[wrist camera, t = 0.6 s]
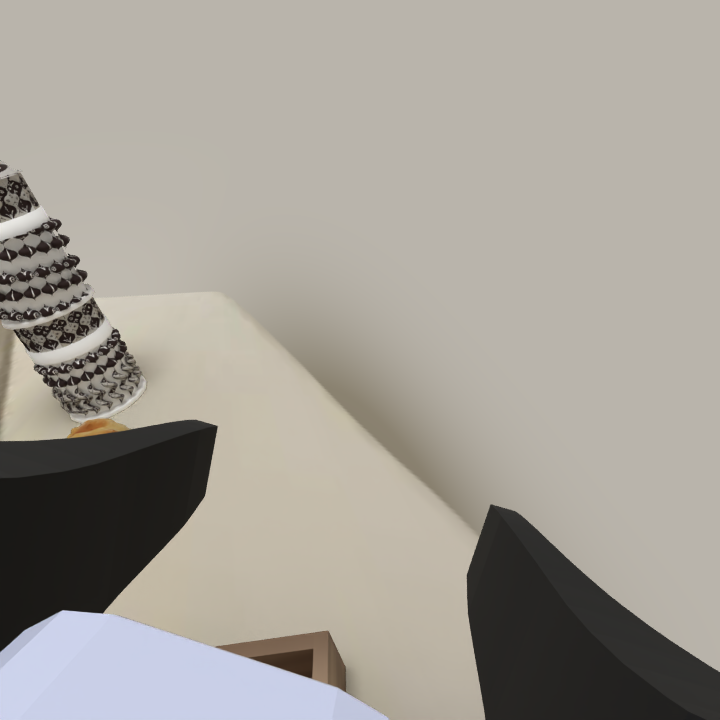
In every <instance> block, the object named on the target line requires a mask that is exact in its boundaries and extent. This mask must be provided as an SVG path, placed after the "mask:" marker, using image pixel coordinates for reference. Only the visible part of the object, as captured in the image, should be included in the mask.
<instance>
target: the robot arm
mask: <svg viewBox="0 0 720 720" xmlns="http://www.w3.org/2000/svg"><path fill="white" fill-rule="evenodd" d="M217 428H218V426H216V425H212V424H209V423H205V422H202V421H198V420H184V421H176V422H170V423H164V424H159V425H153V426H148V427H142V428H137V429H131V430H125V431H119V432H112V433H105V434H98V435H92V436H85V437H76V438H66V439H53V440H39V441H0V720H389V718H388V717H386V716H385V715H383V714H382V713H380V712H379V711H377V710H375V709H374V708H372V707H370V706H369V705H367V704H365V703H363V702H362V701H360V700H358V699H357V698H355V697H353V696H352V695H350V694H348V693H346V692H345V691H343V690H341V689H340V688H338V687H335V686H332V685H329V684H326V683H323V682H320V681H317V680H314V679H311V678H308V677H305V676H302V675H298V674H295V673H292V672H289V671H286V670H283V669H280V668H277V667H274V666H271V665H268V664H265V663H262V662H259V661H256V660H253V659H250V658H247V657H244V656H241V655H238V654H234V653H231V652H228V651H225V650H222V649H219V648H216V647H213V646H210V645H207V644H204V643H201V642H198V641H195V640H192V639H189V638H186V637H183V636H180V635H177V634H174V633H170V632H167V631H164V630H161V629H158V628H155V627H152V626H149V625H146V624H143V623H140V622H137V621H134V620H131V619H128V618H125V617H122V616H119V615H112V614H103V613H104V611H105V610H106V609H107V608H108V607H109V605H110V604H111V603H112V602H113V601H114V600H115V599H116V597H117V596H118V595H119V594H120V593H121V592H122V591H123V590H124V589H125V588H126V587H127V586H128V584H129V583H130V582H131V581H132V580H133V579H134V578H135V577H136V576H137V575H138V574H139V573H140V572H141V571H142V570H143V569H144V568H145V567H146V566H147V565H148V563H149V562H150V561H151V560H152V559H153V558H154V557H155V556H156V555H157V554H158V553H159V552H160V551H161V550H162V549H163V548H164V547H165V546H166V545H167V543H168V542H169V541H170V540H171V539H172V538H173V537H174V536H175V535H176V534H177V533H178V532H179V531H180V529H181V528H182V527H183V526H184V525H185V524H186V522H187V521H188V519H189V518H190V517H191V515H192V514H193V513H194V511H195V510H196V508H197V507H198V505H199V504H200V502H201V501H202V500H203V498H204V497H205V493H206V487H207V482H208V477H209V471H210V466H211V460H212V455H213V449H214V444H215V438H216V433H217ZM467 601H468V616H469V623H470V629H471V635H472V641H473V647H474V653H475V659H476V665H477V671H478V676H479V682H480V688H481V694H482V700H483V706H484V712H485V720H720V672H718V671H717V670H715V669H713V668H712V667H710V666H708V665H707V664H706V663H704V662H702V661H701V660H699V659H698V658H696V657H695V656H693V655H692V654H690V653H689V652H687V651H685V650H684V649H682V648H681V647H679V646H678V645H676V644H675V643H673V642H672V641H670V640H669V639H667V638H666V637H664V636H663V635H662V634H660V633H659V632H657V631H656V630H654V629H653V628H652V627H650V626H649V625H648V624H646V623H645V622H643V621H642V620H641V619H640V618H638V617H637V616H635V615H634V614H633V613H632V612H630V611H629V610H627V609H626V608H625V607H623V606H622V605H621V604H619V603H618V602H617V601H616V600H615V599H613V598H612V597H611V596H609V595H608V594H607V593H606V592H605V591H604V590H602V589H601V588H600V587H599V586H598V585H597V584H595V583H594V582H593V581H592V580H591V579H590V578H588V577H587V576H586V575H585V574H584V573H583V572H582V571H581V570H579V569H578V568H577V567H576V566H575V565H574V564H573V563H572V562H570V560H568V559H567V558H566V557H565V556H564V555H563V554H562V553H561V552H560V551H559V550H558V549H557V548H556V547H555V546H554V545H553V544H551V543H550V542H549V541H548V540H547V539H546V538H545V537H544V536H543V535H542V534H541V533H540V532H539V531H538V530H537V529H536V528H535V527H534V526H532V525H531V524H530V523H529V522H528V521H527V520H526V519H525V518H523V517H522V516H521V515H519V514H518V513H517V512H515V511H512V510H509V509H505V508H501V507H498V506H494V505H490V508H489V511H488V514H487V517H486V520H485V523H484V526H483V529H482V532H481V535H480V537H479V540H478V543H477V546H476V549H475V552H474V555H473V558H472V561H471V564H470V567H469V570H468V573H467Z"/></svg>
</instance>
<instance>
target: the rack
mask: <svg viewBox="0 0 720 720" xmlns="http://www.w3.org/2000/svg"><path fill="white" fill-rule="evenodd" d="M216 648H219V649H222V650H225V651H228V652H231V653H234V654H238V655H241V656H244V657H247V658H250V659H253V660H256V661H259V662H262V663H265V664H268V665H271V666H274V667H277V668H280V669H283V670H286V671H289V672H292V673H295V674H298V675H302V676H305V677H308V678H311V679H314V680H317V681H320V682H323V683H326V684H329V685H332V686H335V687H338V688H340V689H341V690H343V691H345V692H346V676H345V665H344V663H343V661H342V659H341V656H340V654H339V652H338V650H337V648H336V646H335V644H334V642H333V640H332V637H331V635H330V633H329V631H322V632H315V633H308V634H301V635H294V636H287V637H280V638H273V639H266V640H259V641H252V642H245V643H238V644H230V645H223V646H216Z"/></svg>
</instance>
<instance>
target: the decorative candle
mask: <svg viewBox="0 0 720 720" xmlns="http://www.w3.org/2000/svg"><path fill="white" fill-rule="evenodd" d="M20 172H22V171H19V170H14V169H12V168H10V167H9V166H7V165H6V164H5V163H3V162H2V161H1V160H0V319H1V321H2V325H3V327H4V328H7V329H12V330H14V332H15V333H16V335H17V337H18V338H19V339H20V341H21V342H22V343H23V344H24V346H25V349H26V352H27V354H28V355H29V357H30V358H31V359H32V361H33V362H34V364H35V365H34V370H35V371H37V372H38V373H39V374H41V375H43V376H44V378H43V382H44V383H46V384H47V385H48V386H49V387H53V389H52V394H53V396H54V397H55V398H56V399H58V400H59V401H61V407H62V408H63V409H64V410H66V411H67V412H69V415H70V417H71V419H72V420H73V421H75V422H78V423H84V422H85V421H87V420H92V419H98V418H110V417H112V416H114V415H116V414H117V413H119V412H121V411H123V410H125V409H127V408H128V407H129V406H130V405H132V404H133V403H134V402H136V401H137V400H138V399H139V398H140V396H141V395H142V394H143V393H144V391H145V390H146V385H147V381H146V380H145V378H144V377H143V376H142V372H141V371H139V366H136V365H135V363H136V361H135V360H133V355H131V354H129V353H128V352H126V350H127V347H126V346H125V345H126V344H125V342H124V341H121V340H120V334H119V331H118V330H117V329H114V328H113V327H112V326H111V324H110V322H109V321H108V319H107V317H106V316H105V315H104V314H102V312H101V310H100V309H99V307H98V305H97V304H96V302H95V300H94V298H93V297H92V296H93V294H94V293H95V291H94V289H93V288H92V287H91V286H90V285H89V284H84V283H83V281H84V280H85V279H86V278H87V272H86V271H83V270H77V271H76V270H75V269H74V267H76V266H77V264H78V263H79V262H80V259H79V258H78V257H77V256H75V255H70V254H68V255H69V256H67V255H66V253H65V252H64V250H63V248H62V246H64V247H65V246H66V245H67V244H68V243H69V241H70V239H69V237H67V236H64V235H60V234H58V235H59V236H55V234H54V233H53V230H54V229H55V230H56V231H57V230H58V229H59V228H60V226H61V225H62V224H61V222H60V221H59V220H57V219H53V218H50V219H49V217H48V215H47V214H46V212H45V210H44V208H43V207H42V206H41V205H39V204H38V202H37V200H36V199H35V197H34V195H33V193H32V192H31V190H30V188H29V187H28V185H27V183H26V182H25V180H24V178H23V177H22V175H21V173H20Z"/></svg>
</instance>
